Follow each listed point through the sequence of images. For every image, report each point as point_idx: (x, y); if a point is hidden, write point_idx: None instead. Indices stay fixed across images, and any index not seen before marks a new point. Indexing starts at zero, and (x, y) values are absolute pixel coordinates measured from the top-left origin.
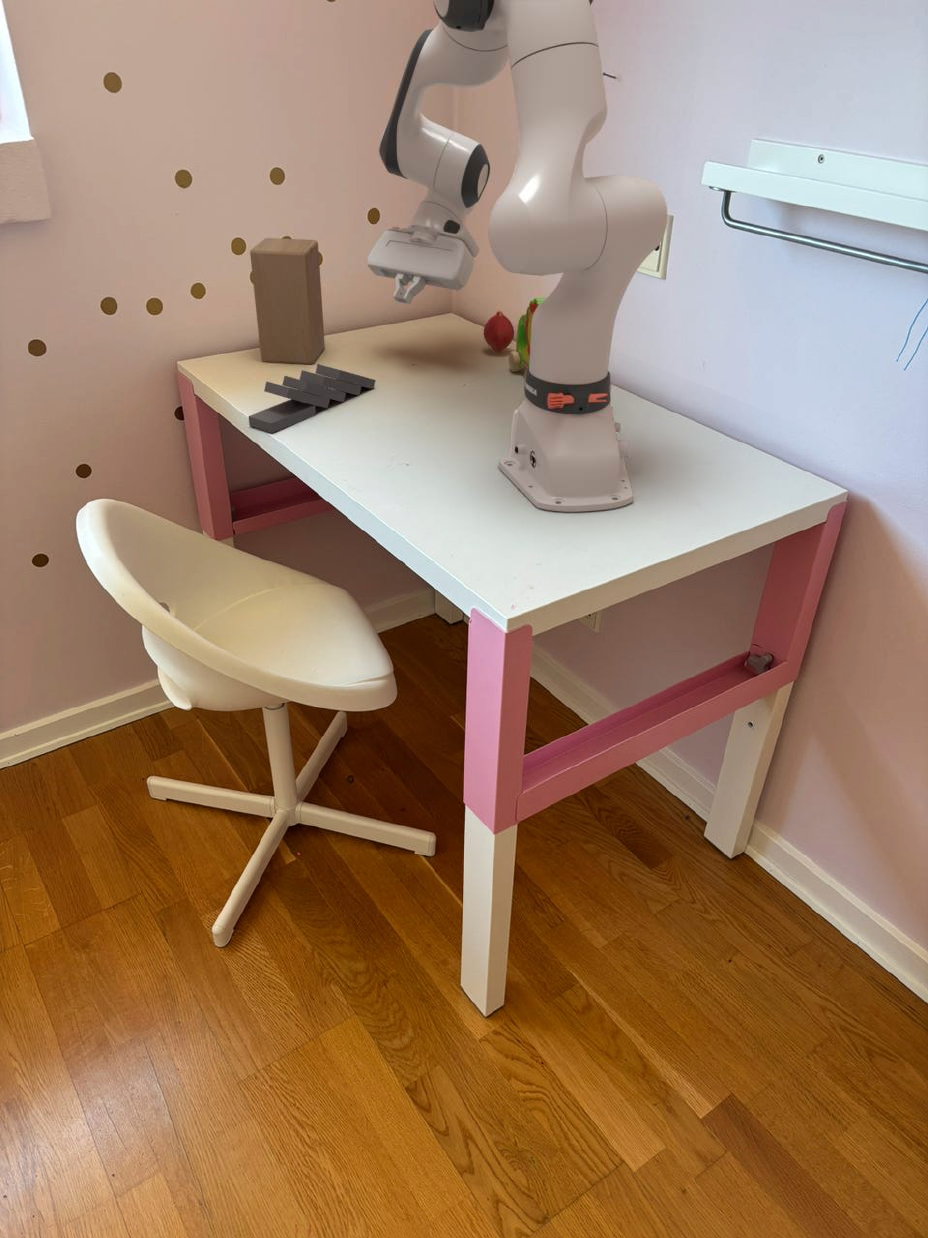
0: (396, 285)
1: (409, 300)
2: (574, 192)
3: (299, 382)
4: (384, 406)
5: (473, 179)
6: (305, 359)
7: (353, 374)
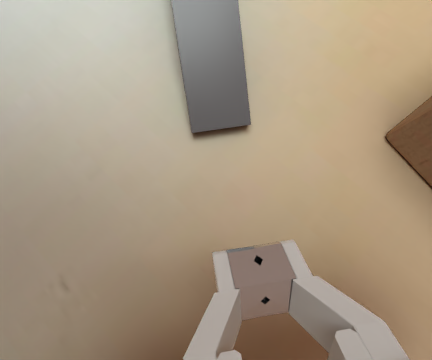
0: (324, 284)
1: (215, 279)
2: None
3: None
4: (111, 88)
5: None
6: (399, 123)
7: (179, 51)
